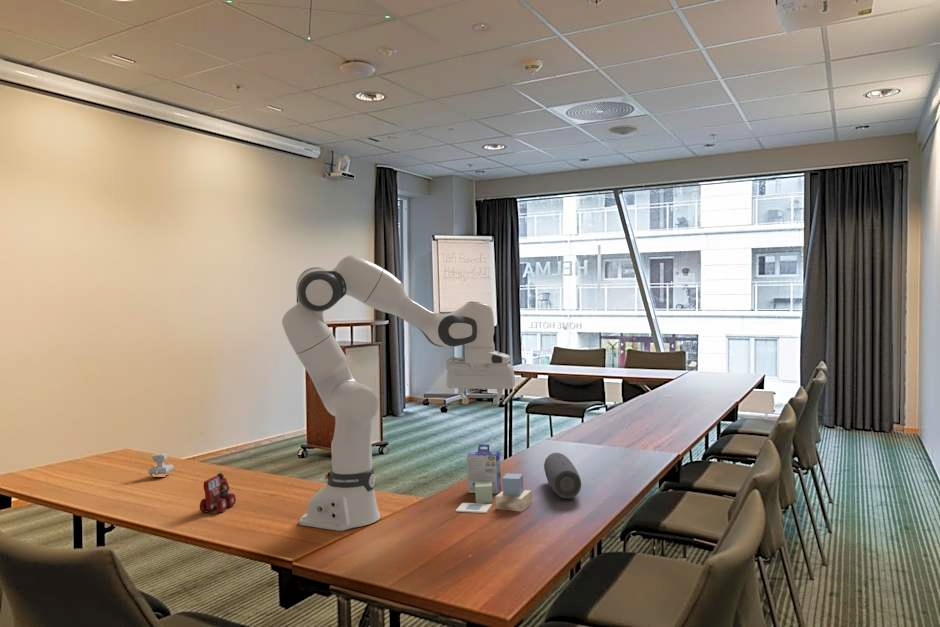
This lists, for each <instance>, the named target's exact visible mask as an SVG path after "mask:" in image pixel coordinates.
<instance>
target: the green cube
mask: <svg viewBox="0 0 940 627" xmlns="http://www.w3.org/2000/svg"><path fill="white" fill-rule="evenodd" d="M474 494H475V503H481V504H493V503H494V502H493V499H494V498H493V493H492V481H489V482H475V493H474Z"/></svg>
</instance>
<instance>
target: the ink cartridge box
mask: <svg viewBox="0 0 940 627" xmlns="http://www.w3.org/2000/svg"><path fill="white" fill-rule="evenodd" d="M483 447H485V448H486V449H485V448H483ZM466 467H467V468H466V470H467V492H468V493H471V494H475V482H489V481H492V494H494V495H495V494H496V495H498V494H499V492H500V491H502V477H501V476H502V474H501V473H502V472H501V452H500V451H493V450H491V451H490V444H478V447H477V451H470V452H468V453H467V455H466Z"/></svg>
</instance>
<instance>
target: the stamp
mask: <svg viewBox="0 0 940 627" xmlns="http://www.w3.org/2000/svg"><path fill="white" fill-rule="evenodd" d="M168 455H169V454H168V452H167V453H166V452H163V453H155V454H153V455H151V459H152V460H153V462H155V463H156V465H154V466H152V467H150V468H149V469H148V472H147V474H148V475H149V476H151V475H152V474H155V475H158V474H167V473H168V472H170V471H171V470H172V471H173V469H174V468H175V466H174V464H172V463H168V464H165V461H166V460H168ZM172 471H171V472H172Z"/></svg>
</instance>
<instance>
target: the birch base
mask: <svg viewBox="0 0 940 627" xmlns="http://www.w3.org/2000/svg"><path fill="white" fill-rule="evenodd" d="M532 498H533V497H532V490H529V489H528V490H527V489H524V491H523V493H522V494H521V496H504V495H503V490H501V492H500V493H499V492H498V493H497V494H496V495H495V509H497V510H505V511H513V512H514V511H515V512H524V510H526V509H527V508H528V507H529V506H531V505H532V504H533V499H532Z"/></svg>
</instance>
